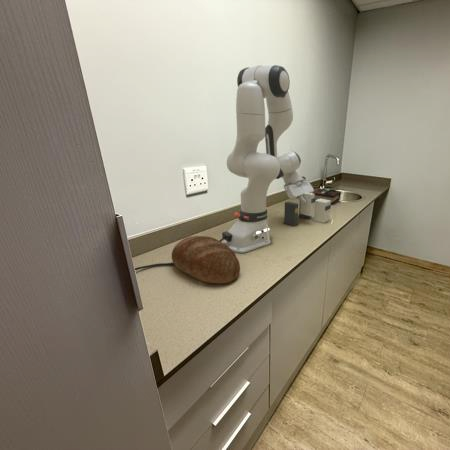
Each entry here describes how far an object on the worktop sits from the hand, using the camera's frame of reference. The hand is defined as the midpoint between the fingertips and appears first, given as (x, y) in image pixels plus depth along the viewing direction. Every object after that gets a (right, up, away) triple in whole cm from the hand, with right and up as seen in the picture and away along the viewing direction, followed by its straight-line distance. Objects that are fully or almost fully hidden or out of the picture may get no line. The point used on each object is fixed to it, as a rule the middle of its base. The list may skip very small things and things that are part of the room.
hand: (308, 202), depth 132 cm
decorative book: (+12, +7, +54) cm, 56 cm away
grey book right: (-1, -8, +13) cm, 15 cm away
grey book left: (-10, -12, +2) cm, 15 cm away
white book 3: (+9, -9, +11) cm, 17 cm away
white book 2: (+7, -10, +8) cm, 15 cm away
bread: (-38, -28, -45) cm, 65 cm away
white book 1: (-1, -6, +3) cm, 7 cm away
